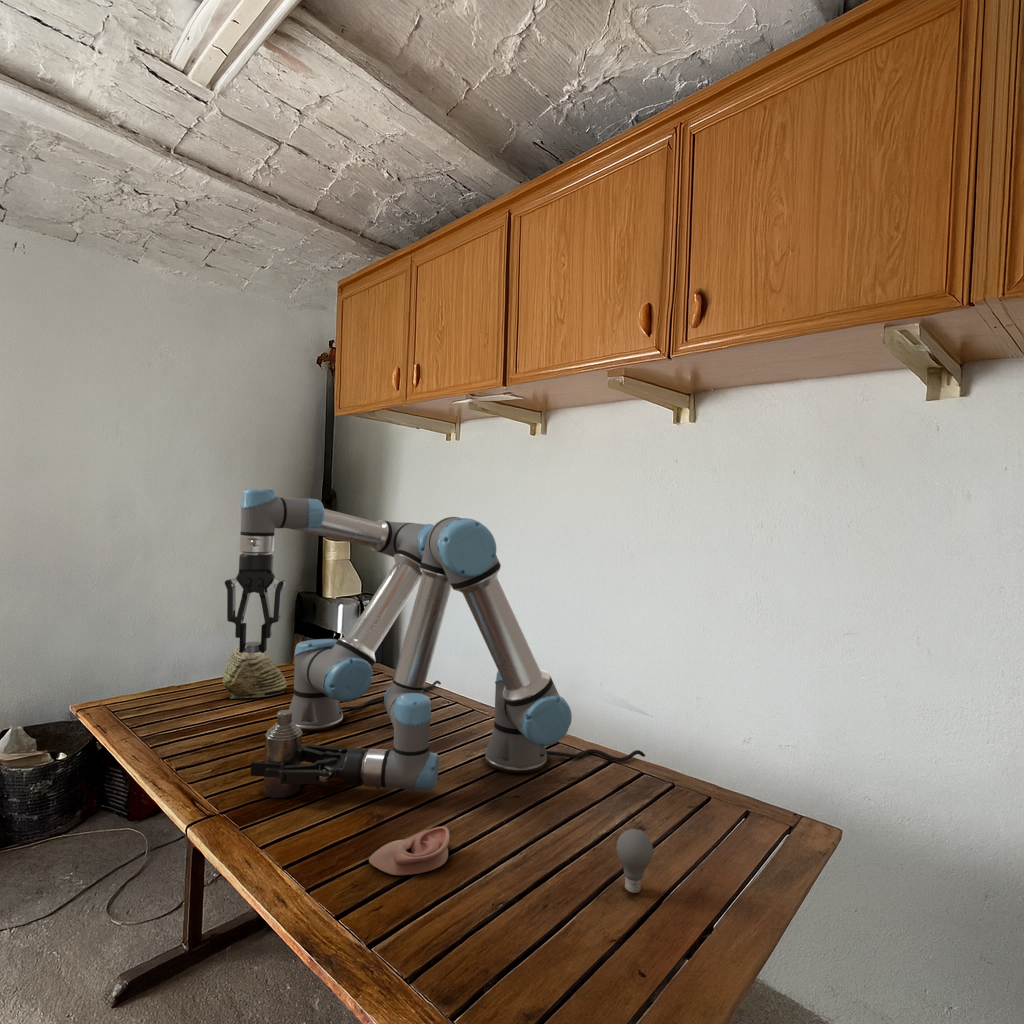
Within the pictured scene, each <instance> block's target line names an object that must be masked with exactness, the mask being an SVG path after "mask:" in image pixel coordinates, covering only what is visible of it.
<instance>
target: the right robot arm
mask: <svg viewBox="0 0 1024 1024" xmlns="http://www.w3.org/2000/svg"><path fill="white" fill-rule="evenodd" d="M433 525H434V526H433V528H432V529H431V531H430V532H429V535H428V537H427V541H426V545H425V549H424V553H423V557H422V561H421V565H420V570H421V572H422V578H421V580H420V581H419V585H418V588H417V592H416V595H415V599H414V603H413V607H412V610H411V613H410V617H409V621H408V624H407V627H406V631H405V635H404V638H403V642H402V646H401V649H400V653H399V655H398V660H397V663H396V667H395V671H394V675H393V677H392V682H391V684H390V686H389V687H388V689H387V690H386V691H385V693H384V695H383V696H384V699H383V703H384V709H385V711H386V713H387V715H388V717H389V719H390V722H391V725H392V726H393V747H392V749H383V748H369V749H368V750H367V748H363V747H350V748H348V747H335V746H328V745H321V744H313V743H307V744H305V746H302V751H301V764H298V765H287V766H284V762H282V763H270V762H264V761H256V760H255V761H251V763H250V777H263V778H264V777H278V778H280V784H300V785H320V786H321V785H322V786H328V785H329V784H330V779H340V778H341V779H342V781H343V785H345V786H349V787H362V786H364V787H369V788H375V789H376V790H380V789H381V788H384V789H397V790H406V791H407V790H409V791H414V792H415V791H431V790H433V789H435V787H436V785H437V782H438V777H439V771H440V770H439V768H440V758H439V755H438V753H436V752H432V751H430V732H431V731H430V730H431V717H432V711H431V699H430V697H429V696H428V695H425V694H424V691H425V690H424V688H425V687H426V683H427V679H428V675H429V672H430V668H431V665H432V661H433V657H434V654H435V650H436V647H437V643H438V640H439V636H440V633H441V629H442V626H443V623H444V618H445V615H446V611H447V609H448V608H447V607H448V604H449V601H450V598H451V594H452V590H453V591H457V592H460V593H462V595H463V598H464V600H465V602H466V604H467V606H468V609H469V611H470V613H471V614H472V617H473V619H474V620H475V623H476V626H477V628H478V630H479V632H480V634H481V636H482V638H483V641H484V643H485V645H486V647H487V649H488V651H489V654H490V656H491V658H492V660H493V662H494V664H495V666H496V669H497V672H496V677H495V681H494V684H495V690H494V691H495V692H494V694H495V695H494V715H493V717H494V719H493V729H492V732H491V736H490V738H489V741H488V743H487V746H486V748H485V753H484V755H485V756H484V760H485V763H486V764H487V765H488V766H489V767H490V768H492V769H494V770H496V771H500V772H503V773H509V774H529V773H530V774H531V773H536V772H537V771H540V770H542V769H544V768H545V767H546V766H547V763H548V756H556V757H563V758H570V759H578V758H583V757H584V756H586V755H588V754H597V755H599V756H602V757H604V758H606V759H608V760H611V761H614V762H620V763H621V762H626V761H629V760H630V759H632V758H633V757H635V756H636V755H640V757H643V758H644V757H646V754H645V753H644V752H643V751H642V750H639V749H636V750H634V751H632V752H631V753H629V754H628V755H626V756H622V757H621V756H619V757H618V756H612V755H610V754H608V753H606V752H604V751H602V750H600V749H594V748H588V749H585V750H583V751H581V752H579V753H568V752H562V751H552V750H547V749H546V747H549V746H553V745H554V744H555V745H556V744H558V742H560V741H561V740H562V739H563V738H564V737H565V736H566V735H567V733H568V732H569V728H570V726H571V724H572V720H573V718H572V717H573V716H572V715H573V714H572V709H571V707H570V705H569V704H568V702H567V701H566V699H565V698H564V697H562V696H561V695H560V693H559V691H558V690H557V689H558V688H556V684H555V682H554V681H553V678H552V676H551V674H550V673H549V672H548V671H547V670H546V669H545V670H544V669H541V668H540V666H539V663H538V662H537V660H536V657H535V655H534V653H533V651H532V649H531V646H530V644H529V642H528V639H527V637H526V635H525V633H524V631H523V628H522V625H521V624H520V621H519V620H518V617H517V615H516V613H515V611H514V608H513V606H512V604H511V602H510V599H509V597H508V595H507V593H506V591H505V588H504V586H503V584H502V581H501V579H500V577H499V575H500V572H501V570H502V564H501V562H500V560H499V557H498V555H497V542H496V540H495V537H494V535H493V533H492V532H491V530H489V528H488V527H487V526H485V525H484V524H483V523H481V522H480V521H478V520H476V519H473V518H467V517H458V516H448V517H444V518H442V519H440V520H439V521H437V522H436V523H435V524H433ZM423 690H424V691H423ZM302 762H308V763H302Z"/></svg>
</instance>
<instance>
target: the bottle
mask: <svg viewBox="0 0 1024 1024" xmlns="http://www.w3.org/2000/svg"><path fill="white" fill-rule="evenodd" d="M276 716H277V718H276V722H275V723H274V724H273V725H272V726H271V727H270V728H269V729H268V730H267V731H266V733H265V736H264V737H265V738H264V761H263V762H270V763H282V762H284V766H287V765H298V764H302V762H301V751H302V747H303V732H302V731H301V729H300V728H299V727H298V726H297V725H296V724H295V723H293V722H292V711H291V710H289V709H281V710H278V711H277V712H276ZM262 789H263V790H262V792H263V795H264V796H265V797H267V798H271V799H284V798H289V797H292V796H294V795H296V794H298V793H299V792H300V790H301V784H280V778H278V777H263V788H262Z"/></svg>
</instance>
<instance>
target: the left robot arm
mask: <svg viewBox="0 0 1024 1024" xmlns="http://www.w3.org/2000/svg"><path fill="white" fill-rule="evenodd" d="M240 502H241V504H240V534H239V552H240V555H239V556H238V557H239V558H238V572H237V574H236V577H233V578H228V579H226V580H225V581H224V586H225V588H226V591H227V592H226V593H227V594H226V596H227V599H226V604H227V605H226V610H227V611H226V617H227V618H226V620H227V622H229V623H233V624H235V633H234V634H235V635H234V636H235V638H236V639H239V643H238V644H239V646H238V647H239V653H243V652H244V643H247V622H244V619H245V615H246V612H247V608H248V605H249V600H250V597H251V594H252V593H256V594H258V595H259V597H260V602H261V609H262V614H263V620H264V623H263V624H261V630H260V631H261V633H260V642H261V653H264V652H265V653H266V651H267V649H268V648H267V647H268V646H267V645H268V643H267V642H268V639H270V638H271V637H272V631H273V624H275V623H278V622H279V621H280V620H281V614H282V601H283V590H284V588H285V585H286V584H287V583H286V580H284V579H280V578H279V579H278V578H277V577H276V576H275V573H274V555H273V552H274V550H275V529H290V530H294V531H299V532H303V533H308V534H312V535H316V536H320V537H325V538H329V539H334V540H339V541H343V542H346V543H347V542H348V543H352V544H356V545H361V546H365V547H369V548H370V549H371V551H372V552H375V553H380V554H384V555H386V556H389V557H391V558H393V559H394V564H393V565H392V567H391V569H390V570H389V572H388V573H387V575H386V577H385V578H384V580H383V581H382V582H381V583H380V585H379V587H378V588H377V590H376V592H375V593H374V594H373V596H372V597H371V599H370V601H369V602H368V604H367V605H366V607H365V608H364V610H363V611H362V613H361V615H360V616H359V618H358V619H357V621H356V622H355V624H354V625H353V627H352V628H351V630H350V631H349V632H348V633H347V635H346V636H344V637H343V636H342V637H340V638H338V639H336V638H319V639H308V640H303V641H300V642H297V644H296V645H295V650H294V655H293V656H294V672H293V695H292V696H293V697H292V699H291V702H290V704H289V708H288V710H291V711H292V722H293V723H295V724H296V725H297V726H298V727H299V728H300V729H301V731H302V733H316V732H325V731H329V730H332V729H335V728H337V727H339V726H340V725H342V723H343V722H344V714H343V711H345V710H357V709H358V710H359V709H362V708H364V707H365V706H367V705H369V704H371V703H373V702H376V701H380V700H384V696H385V695H382V696H378V697H377V696H376V697H373V698H371V699H369V700H367V701H365V702H363V703H362V704H359V705H348V706H341V702H343V703H350V702H353V701H357V700H358V699H360V698H361V697H363V696H364V695H365V694H366V693H367V692H368V690H369V689H370V687H371V684H372V683H373V678H374V677H373V674H374V672H373V666H374V665H375V663H376V661H377V660H376V654H375V653H376V652H377V650H378V648H379V646H380V645H381V643H382V642H383V640H384V639H385V637H386V635H387V634H388V632H389V631H390V630H391V627H392V626H393V624H394V623H395V621H396V620H397V618H398V616H399V615H400V613H401V612H402V610H403V608H404V607H405V605H406V603H408V600H409V599H410V597H411V596H412V594H413V592H414V591H415V589H416V588H417V586H419V585H418V584H420V581H421V578H422V572H421V570H420V565H421V561H422V557H423V553H424V549H425V545H426V541H427V537H428V535H429V532H430V531H431V529H432V528H433V526H434V525H435V524H433V523H427V524H425V523H416V522H400V521H399V522H398V521H389V520H388V521H387V520H385V519H378V520H377V521H374V520H370V519H367V518H362V517H359V516H356V515H355V516H354V515H352V514H347V513H343V512H340V511H335V510H331V509H328V508H325V507H324V504H323V502H322V501H321V500H320V499H317V498H310V497H307V498H303V497H302V498H301V497H282V496H277V491H276V490H275V489H274V488H255V487H247V488H245V489H243V491H242V494H241V501H240ZM238 584H239V585H240V587H241V588H242V593H241V599H240V603H239V606H238V609H237V612H236V603H237V602H236V595H237V593H236V592H237V591H236V587H237V586H238ZM272 584H273V587H274V589H275V591H274V604H273V614H272V609H271V605H270V599H269V591H268V589H269V588H270V586H271V585H272ZM236 614H237V615H236ZM272 615H273V616H272ZM437 684H438V685H442V682H441V681H440V680H435V681H434V682H433V683H432V684H430V685H428V686H425V687H424V690H423V692H424V691H427V690H429V689H432V688H433V687H435V686H436V685H437Z"/></svg>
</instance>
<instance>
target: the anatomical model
mask: <svg viewBox="0 0 1024 1024" xmlns="http://www.w3.org/2000/svg"><path fill="white" fill-rule="evenodd" d="M450 835H451V834H450V830H449V828H447V826H435V827H433V828H428V829H427V830H424V831H421V832H418V833H417V834H415V835H411V836H410V837H408V838H405V839H397V840H393V841H390V842H388V843H386V844H384V845H382V846H381V847H379V848H378V849H376V850H375V851H374V852H373V853H371V855H370V856H369V858H368V862H369V864H370V865H372V866H373V867H374V868H376V869H378V870H379V871H381V872H383V873H386V874H388V875H391V876H408V875H417V874H422V873H426V872H430V871H433V870H435V869H438V868H439V867H442V866H443V865H444V864H446V862H447V861H448V858H449V848H448V847H449V843H450V837H451V836H450Z"/></svg>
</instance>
